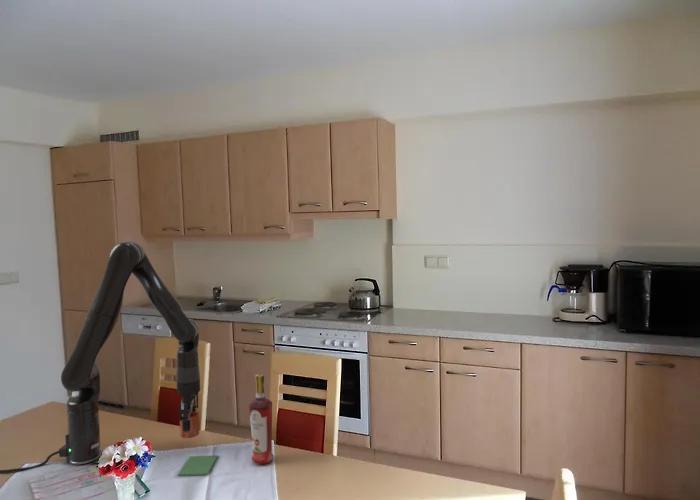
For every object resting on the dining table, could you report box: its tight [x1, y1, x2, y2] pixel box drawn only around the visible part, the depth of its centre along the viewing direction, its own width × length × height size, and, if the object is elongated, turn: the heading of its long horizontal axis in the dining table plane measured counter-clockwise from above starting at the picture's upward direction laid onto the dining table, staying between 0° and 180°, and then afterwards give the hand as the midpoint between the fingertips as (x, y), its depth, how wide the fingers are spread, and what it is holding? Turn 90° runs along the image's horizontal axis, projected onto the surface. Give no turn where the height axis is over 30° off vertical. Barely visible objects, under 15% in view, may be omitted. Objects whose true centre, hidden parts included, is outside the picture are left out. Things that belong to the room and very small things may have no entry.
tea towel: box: [177, 455, 219, 477], centre depth 158 cm, size 9×12×1 cm
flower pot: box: [179, 411, 200, 439], centre depth 169 cm, size 6×6×7 cm
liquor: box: [248, 373, 274, 465], centre depth 159 cm, size 7×7×28 cm
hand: (189, 426), depth 169 cm, fingers closed on flower pot, 6 cm apart
